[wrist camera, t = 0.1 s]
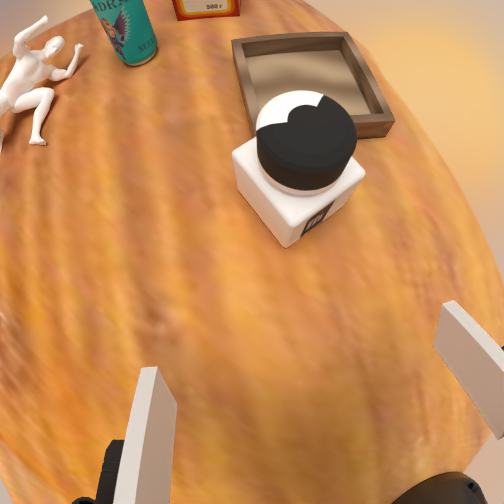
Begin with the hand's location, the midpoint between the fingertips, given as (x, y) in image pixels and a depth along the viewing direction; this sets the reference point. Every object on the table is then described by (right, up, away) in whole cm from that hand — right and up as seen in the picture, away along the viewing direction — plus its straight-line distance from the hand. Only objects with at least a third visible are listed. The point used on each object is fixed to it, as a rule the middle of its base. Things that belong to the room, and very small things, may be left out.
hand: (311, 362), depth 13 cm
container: (+1, +10, +18) cm, 21 cm away
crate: (+4, +24, +20) cm, 31 cm away
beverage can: (-18, +32, +23) cm, 44 cm away
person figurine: (-35, +27, +23) cm, 50 cm away
